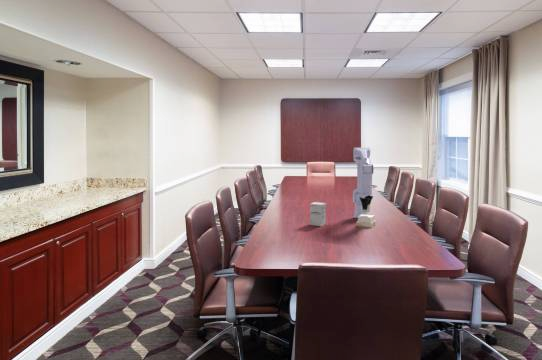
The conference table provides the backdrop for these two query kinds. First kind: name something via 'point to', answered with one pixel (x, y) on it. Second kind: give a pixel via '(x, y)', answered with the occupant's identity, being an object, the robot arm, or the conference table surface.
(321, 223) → the supplement box
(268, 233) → the conference table surface
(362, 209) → the sage capsule
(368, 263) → the conference table surface
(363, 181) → the robot arm
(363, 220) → the top slab
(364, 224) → the base slab
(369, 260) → the conference table surface
